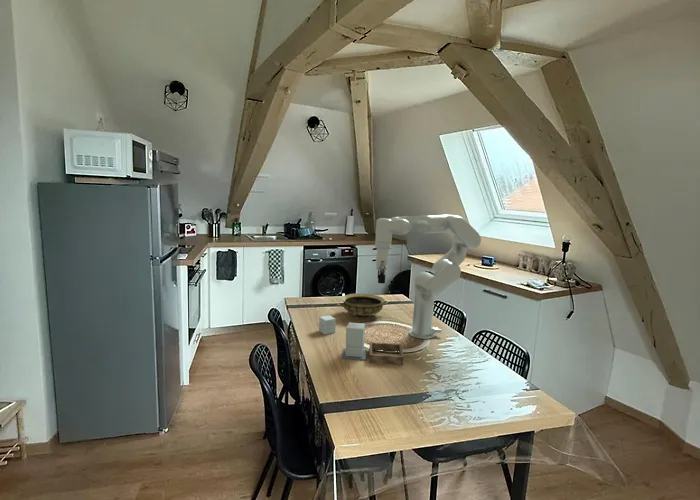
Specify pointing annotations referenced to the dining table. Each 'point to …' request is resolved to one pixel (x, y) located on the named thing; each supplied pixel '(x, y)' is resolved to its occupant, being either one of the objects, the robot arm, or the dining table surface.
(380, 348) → the wooden square frame
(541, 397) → the dining table surface
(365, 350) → the pad
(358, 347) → the supplement box
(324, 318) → the product box
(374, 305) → the ceramic bowl
